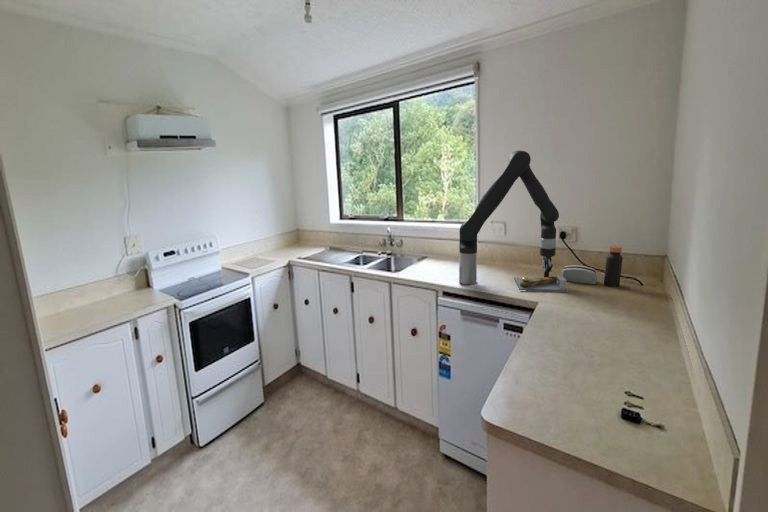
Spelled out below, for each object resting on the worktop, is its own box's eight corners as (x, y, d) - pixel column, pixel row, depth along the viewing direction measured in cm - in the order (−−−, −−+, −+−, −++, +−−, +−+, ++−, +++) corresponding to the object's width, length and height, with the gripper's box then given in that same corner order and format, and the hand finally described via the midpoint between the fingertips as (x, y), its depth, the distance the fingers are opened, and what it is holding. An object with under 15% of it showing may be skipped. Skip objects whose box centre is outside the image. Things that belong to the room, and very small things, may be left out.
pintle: (522, 281, 185) (522, 278, 185) (521, 279, 188) (521, 277, 187) (528, 281, 185) (528, 278, 184) (527, 279, 187) (527, 277, 187)
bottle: (605, 282, 190) (610, 244, 185) (620, 284, 186) (625, 246, 181) (601, 285, 186) (606, 247, 181) (617, 288, 181) (622, 249, 176)
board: (519, 291, 184) (519, 288, 184) (514, 279, 201) (514, 277, 201) (566, 292, 180) (567, 289, 180) (557, 280, 197) (557, 278, 197)
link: (523, 287, 184) (523, 283, 184) (518, 284, 188) (518, 280, 188) (558, 282, 189) (559, 278, 188) (553, 280, 193) (553, 275, 192)
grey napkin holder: (596, 281, 193) (598, 265, 187) (596, 286, 189) (597, 271, 184) (561, 277, 201) (562, 262, 196) (560, 282, 198) (561, 267, 193)
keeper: (559, 289, 180) (559, 280, 179) (555, 284, 187) (556, 275, 186) (565, 289, 180) (566, 280, 179) (561, 284, 187) (562, 275, 185)
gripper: (537, 243, 195) (535, 274, 200) (543, 249, 183) (541, 282, 187) (552, 243, 194) (550, 274, 198) (559, 249, 181) (557, 282, 186)
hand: (546, 278), depth 193 cm, fingers closed
